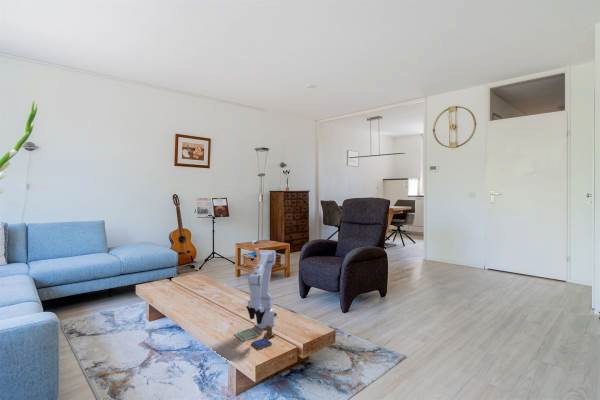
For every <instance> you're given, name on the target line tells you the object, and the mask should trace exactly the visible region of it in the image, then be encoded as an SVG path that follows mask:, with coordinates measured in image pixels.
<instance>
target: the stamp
mask: <svg viewBox="0 0 600 400" xmlns="http://www.w3.org/2000/svg"><path fill="white" fill-rule="evenodd" d="M275 336H276V333H274V332H273V326H272V325H267V327H266V333H263V338H266V339H267V340H268V339H271V338H274V337H275Z"/></svg>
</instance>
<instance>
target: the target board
mask: <svg viewBox="0 0 600 400" xmlns="http://www.w3.org/2000/svg"><path fill="white" fill-rule="evenodd" d="M233 335H234V336H236V337H237V338H238V339H239V340H240V341H242V342H245V341H248V340H251V339H254V338H258V337H259V336H260V334H258V332H256V331H254V330H253V329H252V328H247V329H244V330H241V331H237V332H235V333H233Z"/></svg>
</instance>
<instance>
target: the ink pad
mask: <svg viewBox="0 0 600 400" xmlns="http://www.w3.org/2000/svg"><path fill="white" fill-rule="evenodd" d="M250 343H251V346H252V347H254V348H256V349H257V350H261V349H264V348H266V347H269V346H272V345H273V344H272V342H271V341H270V340H268V339H267V338H265V337H263V338H260V339H257V340H254V341H252V342H250Z"/></svg>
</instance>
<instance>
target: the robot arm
mask: <svg viewBox="0 0 600 400" xmlns="http://www.w3.org/2000/svg"><path fill="white" fill-rule="evenodd" d="M257 253H258V254H257V258H258V264H256V265H255V267H254V269H253V270H252V273H251V274H250V275H249V276H248V280H247V282H248V287H249V294H250V295H249V299H250V300H247V305H246V307H245V308H246V309H247V312H248V316H249V319H250V320H253V319H255V318H256V323H254V326H256V327H257V328H259V329H260V330H263V329H267V325H272V327H273V326H275V316H274V313H275V312H274V310H273V297H272V295H271V294H269V292H270V286H271V285H270V282H271V276H272V268H273V266H275V265H276V260H277V259H276V258H277V251H276V250H275V249H274V250H272V249H271V250H270V249H259V251H258V252H257ZM255 310H256V311H255Z"/></svg>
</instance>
